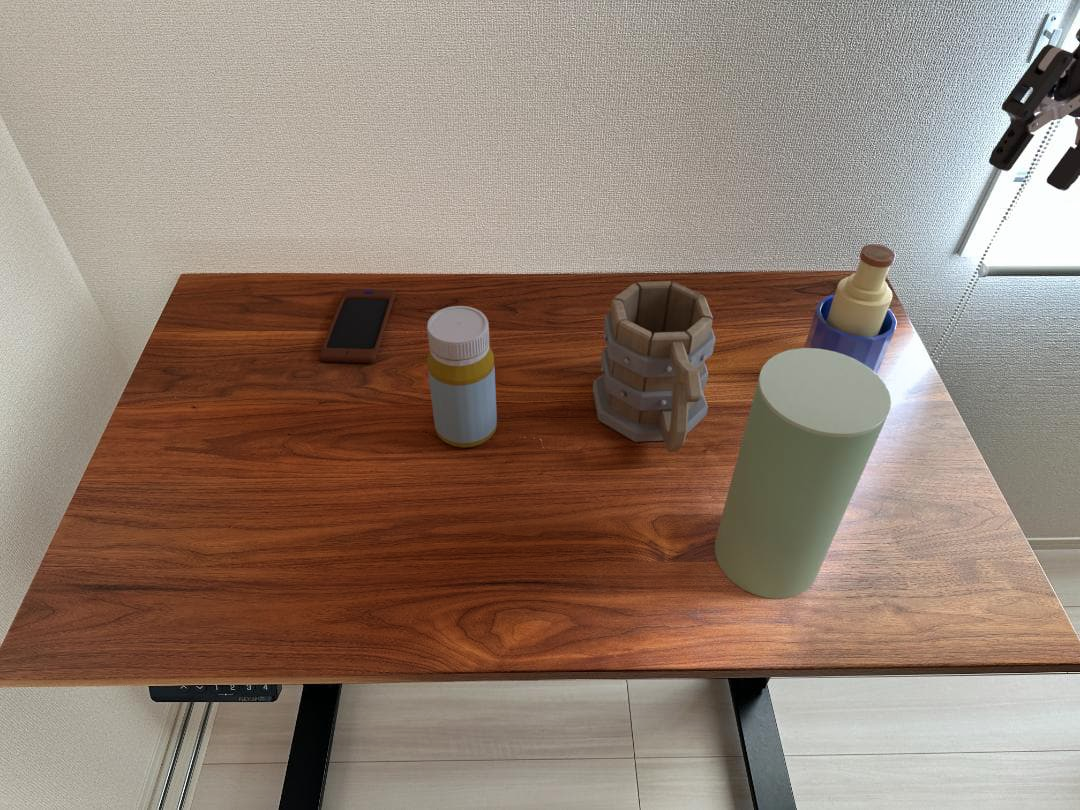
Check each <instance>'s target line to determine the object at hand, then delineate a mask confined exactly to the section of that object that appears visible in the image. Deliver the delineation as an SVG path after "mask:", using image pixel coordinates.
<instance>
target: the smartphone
mask: <svg viewBox="0 0 1080 810" xmlns="http://www.w3.org/2000/svg"><path fill="white" fill-rule="evenodd" d="M396 293H397V292H396V291H395V290H393V289H378V288H377V289H375V288H373V289H372V288H345V290H344V291H343V294H342V295H341V298H340V301H339V303H338V306H337V309H336V310H335V313H334V315H333V318H332V320H331V323H330V326H329V329H328V331H327V333H326V336H325V339H324V341H323V343H322V347H321V348H320V352H319V354H318V361H320V362H327V363H329V362H330V363H353V364H354V363H356V364H373V363H374V362H376V359H377V356H378V353H379V350H380V348H381V347H380V346H381V344H382V341H383V338H384V337H383V336H384V333H385V330H386V328H387V324H388V320H389V317H390V314H391V311H392V307H393V306H394V301H395V298H396Z"/></svg>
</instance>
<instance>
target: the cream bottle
mask: <svg viewBox="0 0 1080 810" xmlns="http://www.w3.org/2000/svg"><path fill="white" fill-rule="evenodd" d="M896 257H897V255H896V253H895V251H894V250H893V249H891V248H890V247H888V246H885V245H882V244H879V243H869V244H865V245H863V246H862V247H861V250H860V253H859V261H858V264H857V267H856V270H855V273H852V274H850V275H849V276H846V277H844V278H842V279H841V280H840V281H839V282H838V284H837V287H836V290H835V293H834V295H835V296H834V299H833V302H832V305H831V308H830V311H829V314H828V317H827V320H826V322H827V323H828V324H829V325H830V326H831V327H833V328H835V329H837V330H839V331H841V332H842V333H846V334H849V335H853V336H857V337H875V336H878V333H879V331H880V328H881V325H882V323H883V320H884V318H885V315H886V313H887V310H888V309H889V307H890V305H891V302H892V300H893V292H892V290H891V288H890V287H889V285H888V283H887V282H886V278H887V276H888V273H889V270H890V268H891V266H892V265H893V264H894V262H895V260H896Z"/></svg>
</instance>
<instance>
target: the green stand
mask: <svg viewBox="0 0 1080 810" xmlns="http://www.w3.org/2000/svg"><path fill="white" fill-rule="evenodd" d="M755 386H756V387H755V390H754V394H753V398H752V402H751V405H750V409H749V412H748V415H747V416H748V417H747V419H746V424H745V428H744V431H743V436H742V439H741V443H740V446H739V450H738V453H737V458H736V461H735V465H734V469H733V473H732V475H731V480H730V484H729V487H728V491H727V495H726V499H725V502H724V506H723V510H722V513H721V517H720V522H719V525H718V528H717V533H716V535H715V540H714V555H715V558H716V562H717V564H718V566H719V567H720V569H721V571H722V572H723V574H724V575H725V576H726V577H727V578H728V580H730V581H731V582H732V583H733V584H735V585H736V586H737V587H739V588H741V589H742V590H743V591H746V592H747V593H750V594H752V595H755V596H758V597H762V598H765V599H766V598H767V599H777V600H778V599H780V600H782V599H790V598H793V597H796V596H798V595H801V594H802V593H804V592H806V591H807V590H808V589H809V588H810V587H812V585H813V584H814V583H815V581H816V580H817V577H818V575H819V573H820V570H821V568H822V566H823V565H824V564H823V563H824V561H825V559H826V557H827V555H828V552H829V550H830V548H831V545H832V543H833V541H834V538H835V536H836V534H837V532H838V529H839V527H840V525H841V523H842V520H843V518H844V516H845V514H846V512H847V509H848V507H849V505H850V503H851V499H852V498H853V495H854V493H855V491H856V488H857V486H858V484H859V482H860V480H861V477H862V476H863V472H864V470H865V468H866V466H867V463H868V462H869V459H870V457H871V454H872V453H873V450H874V447H875V445H876V443H877V441H878V439H879V437H880V434H881V432H882V430H883V427H884V426H885V425H884V424H885V423H886V421H887V417H888V416H889V413H890V410H891V407H892V406H891V405H892V400H891V399H892V397H891V394H890V390H889V388H888V387H887V385H886V384H885V382H884V380H883V379H882V378H881V377H880V376H879V375H878V373H877V374H876V373H875V372H874V371H873V370H871V369H870V368H869V367H867V366H866V365H864V364H863V363H861V362H859V361H857V360H855V359H853V358H851V357H849V356H846V355H844V354H840V353H837V352H834V351H829V350H824V349H816V348H804V347H803V348H802V347H801V348H800V347H799V348H793V349H788V350H785V351H781V352H779V353H777V354H775V355H773V356H771V358H769V359H768V360H767V361H766V362H765V363H764V364H763V366H762V367H761V369H760V371H759V375H758V380H757V382H756V385H755Z"/></svg>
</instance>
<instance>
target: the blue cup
mask: <svg viewBox="0 0 1080 810" xmlns="http://www.w3.org/2000/svg"><path fill="white" fill-rule="evenodd" d="M834 296H835V294H831V295H827V296H825V297H824V298H822V299H821V300H819V301H818V303H817V305H816V308H815V311H814V314H813V316H812V320H811V325H810V328H809V331H808V333H807V336H806V340H805V344H804V347H803V348H816V349H824V350H829V351H834V352H837V353H840V354H844V355H846V356H849V357H851V358H853V359H855V360H857V361H859V362H861V363H863V364H864V365H866V366H867V367H869V368H870V369H871V370H873V371H874V372H875V373H876V374H877V375H878V373H879V371H880V369H881V366H882V364H883V361H884V358H885V356H886V354H887V351H888V348H889V347H890V344H891V342H892V339H893V336H894V334H895V332H896V328H897V323H898V322H897V318H896V317H895V315H894V313H893V311H892V310H891V309H889V308H888V310H887V313H886V315H885V318H884V320H883V323H882V325H881V328H880V331H879V333H878V336H875V337H857V336H853V335H849V334H846V333H842V332H841V331H839V330H837V329H835V328H833V327H831V326H830V325H829V324H828V323H827V322H826V320H827V317H828V314H829V311H830V308H831V305H832V302H833V299H834Z"/></svg>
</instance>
